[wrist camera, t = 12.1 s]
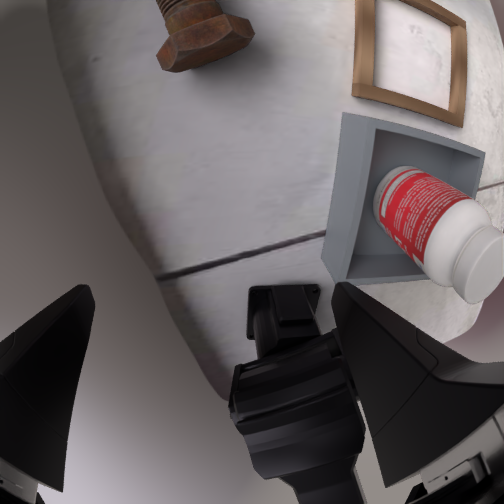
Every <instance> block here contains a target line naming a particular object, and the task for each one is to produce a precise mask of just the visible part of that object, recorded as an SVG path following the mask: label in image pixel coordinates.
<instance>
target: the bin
mask: <svg viewBox="0 0 504 504" xmlns="http://www.w3.org/2000/svg"><path fill="white" fill-rule="evenodd" d="M484 158H485V152H483V151H481V150H478V149H476V148H473V147H470V146H468V145H465V144H462V143H460V142H457V141H454V140H451V139H448V138H445V137H442V136H439V135H436V134H433V133H429V132H426V131H423V130H419V129H416V128H412V127H408V126H405V125H401V124H397V123H393V122H388V121H384V120H380V119H375V118H370V117H365V116H360V115H355V114H349V113H342V123H341V133H340V141H339V150H338V158H337V165H336V173H335V180H334V187H333V193H332V200H331V206H330V212H329V218H328V224H327V229H326V235H325V240H324V246H323V251H322V256H321V259H322V260H323V262H324V264H325V266H326V268H327V269H328V271H329V273H330V275H331V277H332V278H333V280H334V282H335V284H336V283H337V282H343V281H347V282H349V283H351V284H352V285H364V284H378V283H392V282H404V281H416V280H427V279H430V278H429V277H428V276H427V275H426V274H425V273H424V272H423V271H422V269H421V268H420V267H419V266H418V265H417V264H416V263H415V262H414V261H413V260H412V259H411V258H410V257H409V256H408V255H407V254H406V253H405V252H404V251H403V250H402V249H401V248H400V247H399V246H398V245H397V243H395V242H394V240H393V239H392V238H391V237H389V236H388V234H386V233H385V232H384V231H383V229H382V228H381V227H380V226H379V225H378V223H377V221H376V219H375V216H374V213H373V199H374V195H375V192H376V189H377V187H378V185H379V183H380V182H381V180H382V179H383V178H384V177H385V175H386V174H387V173H389V172H390V171H391V170H393V169H395V168H397V167H400V166H413V167H416V168H418V169H421V170H423V171H424V172H426V173H428V174H430V175H432V176H434V177H436V178H438V179H440V180H441V181H443V182H445V183H447V184H449V185H450V186H452V187H454V188H455V189H457V190H459V191H461V192H462V193H464V194H466V195H467V196H469V197H471V198H473V199H474V200H475V197H476V194H477V190H478V186H479V182H480V177H481V173H482V168H483V163H484Z"/></svg>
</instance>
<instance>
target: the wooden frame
mask: <svg viewBox="0 0 504 504" xmlns="http://www.w3.org/2000/svg"><path fill="white" fill-rule="evenodd" d="M400 1H402V2H404V3H407V4H409V5H411V6H413V7H415V8H417V9H419V10H422V11H424V12H426V13H427V14H429V15H431V16H433V17H435V18H437V19H439V20H441V21H442V22H444V23H446V24H448V25H449V26H451V85H450V99H449V109H448V111H447V110H445V109H442V108H440V107H437V106H435V105H432V104H429V103H427V102H424V101H421V100H418V99H415V98H412V97H409V96H406V95H403V94H400V93H396V92H393V91H389V90H386V89H382V88H379V87H375V86H372V83H373V67H374V42H375V4H374V0H355V49H354V69H353V84H352V96H355V97H360V98H365V99H369V100H373V101H377V102H381V103H385V104H389V105H393V106H397V107H400V108H404V109H407V110H410V111H414V112H417V113H420V114H423V115H426V116H429V117H432V118H435V119H438V120H441V121H443V122H446V123H449V124H451V125H454V126H457V127H461V128H463V120H464V111H465V100H466V85H467V35H466V21H464V20H463V19H461V18H460V17H458V16H457V15H455V14H453V13H452V12H450V11H448V10H447V9H445V8H443V7H442V6H440V5H438V4H436V3H435V2H433V1H431V0H400Z"/></svg>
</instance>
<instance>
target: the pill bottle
mask: <svg viewBox="0 0 504 504" xmlns="http://www.w3.org/2000/svg"><path fill="white" fill-rule="evenodd" d="M373 213H374V216H375V219H376V221H377V223H378V225H379V226H380V227H381V228H382V229H383V231H384V232H385V233H386V234H388V236H389V237H391V238H392V239H393V240H394V242H395V243H397V245H398V246H399V247H400V248H401V249H402V250H403V251H404V252H405V253H406V254H407V255H408V256H409V257H410V258H411V259H412V260H413V261H414V262H415V263H416V264H417V265H418V266H419V267H420V268H421V269H422V271H423V272H424V273H425V274H426V275H427V276H428V277H429V278H430V279H431V280H432V281H433V282H435V283H436V284H438V285H440V286H444V287H454V289H455V291H456V292H457V293H458V294H459V295H460V296H461V297H462V298H463V299H464V300H465V301H466V302H467V303H468V304H476V303H478V302H480V301H482V300H483V299H485V298H486V297H487V296H488V295H490V294H491V292H492V291H493V290H494V289H495V288H496V287H497V286H498V284H499V283H500V282H501V280H502V278H503V277H504V233H502V232H501V231H500V230H499V229H498V228H496V227H494V226H492V221H491V218H490V215H489V213H488V211H487V210H486V209H485V207H484V206H483V205H481V204H480V203H479V202H478V201H476V200H474V199H473V198H471V197H469V196H467V195H466V194H464V193H462V192H461V191H459V190H457V189H455V188H454V187H452V186H450V185H449V184H447V183H445V182H443V181H441V180H440V179H438V178H436V177H434V176H432V175H430V174H428V173H426V172H424V171H423V170H421V169H418V168H416V167H413V166H400V167H397V168H395V169H393V170H391V171H390V172H389V173H387V174H386V175H385V177H384V178H383V179H382V180H381V182H380V183H379V185H378V187H377V189H376V192H375V195H374V199H373Z"/></svg>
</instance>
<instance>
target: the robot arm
mask: <svg viewBox="0 0 504 504" xmlns="http://www.w3.org/2000/svg"><path fill="white" fill-rule="evenodd" d="M314 289H316V290H315V291H313V290H314ZM254 291H255V292H256V293H252V292H254ZM320 291H321V289H320V287H319V285H317V284H309V285H280V286H254V287H251V288H250V289H249V291H248V310H247V331H246V335H247V338H248V339H249V340H255V343H256V350H257V357H258V359H257V360H254V361H251V362H248V363H245V364H239V365H236V366H235V370H234V375H233V381H232V387H231V392H230V399H229V405H228V407H229V410H230V417H231V419H232V420H233V422H234V424H235V426H236V428H237V429H238V431H239V432H240V433H241V434H242V435H243V437H244V439H245V441H246V444H247V447H248V450H249V453H250V456H251V460H252V464H253V467H254V469H255V471H256V472H257V473H258V474H259V475H260V476H261V477H262V478H263V479H272V478H279V479H280V480H282V481H283V482H285V483H286V484H288V485H290V486H291V487H292V488H293V490H294V492H295V494H296V497H297V499H298V502H299V504H367V501H366V498H365V495H364V492H363V489H362V485H361V483H360V479H359V476H358V474H357V470H356V467H355V464H356V461H357V458H358V455H359V453H361V452H362V448H363V444H364V439H365V436H364V435H365V431H366V427H365V423H364V420H363V417H362V415H361V412H360V409H359V406H358V403H357V402H358V401H361V404H362V407H363V411H364V414H365V417H366V421H367V424H368V427H369V431H370V434H371V437H372V441H373V444H374V448H375V452H376V455H377V459H378V463H379V466H380V470H381V474H382V478H383V481H384V485H385V488H388V487H390V486H393V485H395V484H397V483H400V482H402V481H405V480H407V479H409V478H411V477H414V476H416V475H418V474H420V475H421V478H422V481H423V482H422V483H420V484H418V485H416V486H414V487H413V488H412V490H411V492H410V494H409V496H408V498H407V500H406V502H405V504H504V362H493V363H478V362H474V361H471V360H469V359H468V358H466V357H464V356H462V355H461V354H459V353H457V352H456V351H454V350H452V349H450V348H449V347H447V346H445V345H444V344H442V343H440V342H439V341H437V340H435V339H434V338H432V337H431V336H429V335H428V334H426V333H425V332H423V331H422V330H420V329H419V328H416V326H414V325H413V324H411V323H410V322H408V321H407V320H405V319H404V318H402V317H401V316H399V315H398V314H396V313H395V312H393V311H392V310H390V309H389V308H387V307H386V306H384V305H383V304H381V303H380V302H378V301H377V300H375V299H374V298H372V297H371V296H369V295H368V294H366V293H365V292H363V291H362V290H360V289H358V288H357V287H355V286H354V285H352V284H351V283H349V282H347V281H343V282H337V283H336V285H335V288H334V292H333V296H332V300H331V305H332V309H333V313H334V318H335V322H336V326H337V328H335V329H332V331H331V332H328V333H326V334H324V335H322V333H321V330H320V327H319V325H318V322H317V320H316V317H315V312H316V308H317V304H318V299H319V295H320ZM94 311H95V301H94V298H93V296H92V292H91V289H90V287H89V286H88V285H87V284H79V285H77V286H75V287H74V288H72V289H71V290H70V291H68V292H67V293H65V294H64V295H62V296H61V297H60V298H58V299H57V300H55V301H54V302H53V303H51V304H50V305H48V306H47V307H46V308H44V309H43V310H42V311H40V312H39V313H38V314H36V315H35V316H34V317H32V318H31V319H30V320H28V321H27V322H26V323H24V324H23V325H22V326H20V327H19V328H18V329H17V330H15V332H13V333H11V334H10V335H9V336H8V337H6V338H5V339H4V340H2V341H1V342H0V504H45V503H44V501H43V500H42V498H41V496H40V494H39V493H38V492H37V488H38V483H40V484H42V485H44V486H47V487H49V488H52V489H54V490H57V491H59V492H63V486H64V471H65V460H66V450H67V441H68V435H69V428H70V422H71V416H72V411H73V405H74V400H75V395H76V391H77V386H78V382H79V377H80V373H81V368H82V365H83V361H84V357H85V353H86V350H87V346H88V342H89V337H90V332H91V326H92V321H93V316H94Z"/></svg>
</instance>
